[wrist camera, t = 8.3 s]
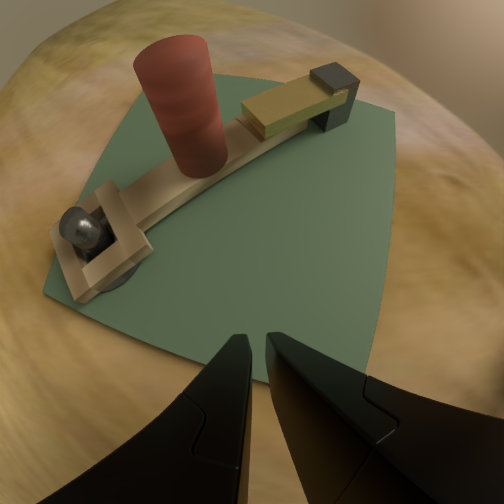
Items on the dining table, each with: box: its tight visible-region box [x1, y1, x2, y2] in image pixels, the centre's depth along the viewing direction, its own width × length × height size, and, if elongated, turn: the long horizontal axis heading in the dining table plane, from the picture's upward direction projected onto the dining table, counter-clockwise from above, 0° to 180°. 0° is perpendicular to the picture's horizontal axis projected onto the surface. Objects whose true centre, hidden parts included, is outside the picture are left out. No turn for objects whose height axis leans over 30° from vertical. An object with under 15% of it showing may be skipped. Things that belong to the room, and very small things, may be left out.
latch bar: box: [49, 35, 308, 304], centre depth 14 cm, size 19×6×9 cm, turn 126°
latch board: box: [43, 74, 396, 383], centre depth 19 cm, size 22×22×1 cm
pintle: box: [59, 206, 146, 293], centre depth 16 cm, size 6×6×5 cm
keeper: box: [241, 62, 360, 139], centre depth 18 cm, size 8×3×5 cm, turn 123°
